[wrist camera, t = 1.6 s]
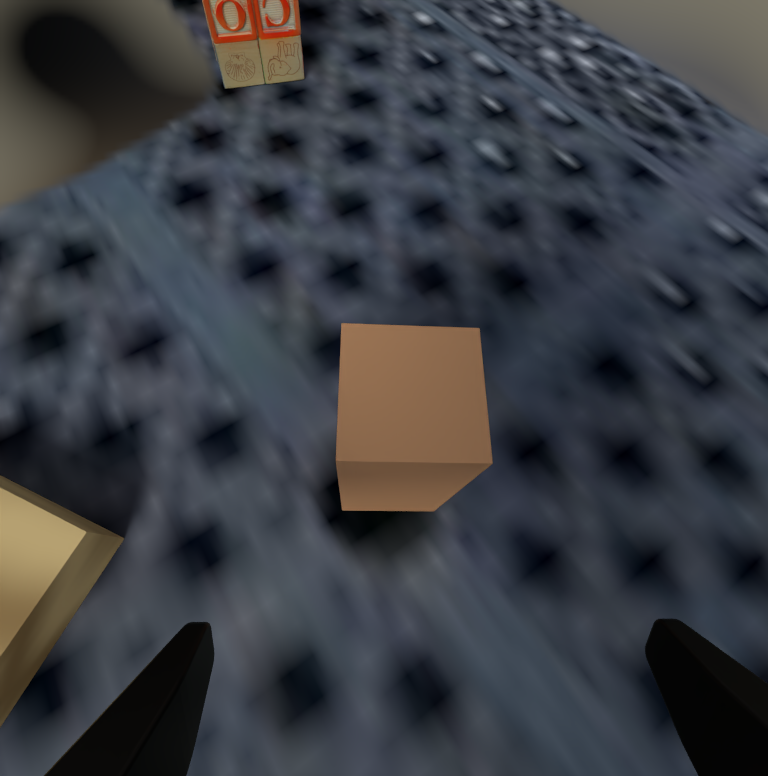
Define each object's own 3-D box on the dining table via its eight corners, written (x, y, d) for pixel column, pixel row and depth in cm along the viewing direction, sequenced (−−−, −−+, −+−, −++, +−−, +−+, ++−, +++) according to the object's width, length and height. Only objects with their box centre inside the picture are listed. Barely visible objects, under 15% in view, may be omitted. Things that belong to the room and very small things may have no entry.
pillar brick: (433, 511, 22) (492, 463, 13) (342, 510, 22) (335, 461, 13) (430, 424, 24) (479, 327, 15) (345, 422, 24) (341, 323, 14)
